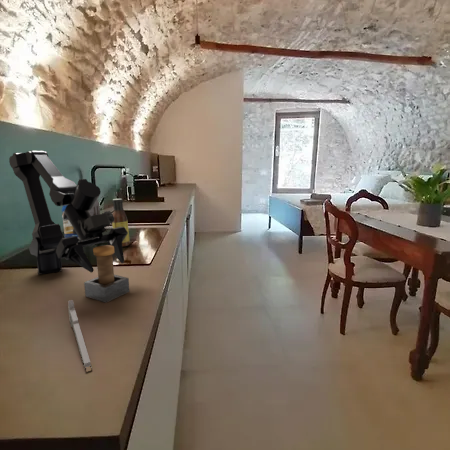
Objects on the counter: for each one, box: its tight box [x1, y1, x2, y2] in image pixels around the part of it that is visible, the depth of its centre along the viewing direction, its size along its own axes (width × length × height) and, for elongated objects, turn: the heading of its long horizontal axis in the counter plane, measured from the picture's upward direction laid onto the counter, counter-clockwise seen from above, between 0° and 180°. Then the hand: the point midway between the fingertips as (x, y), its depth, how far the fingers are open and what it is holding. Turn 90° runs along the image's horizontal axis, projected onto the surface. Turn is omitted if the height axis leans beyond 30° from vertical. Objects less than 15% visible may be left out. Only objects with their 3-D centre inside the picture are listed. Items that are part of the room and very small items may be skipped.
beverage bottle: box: [61, 205, 80, 240], centre depth 150 cm, size 8×8×20 cm
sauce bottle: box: [111, 198, 130, 248], centre depth 136 cm, size 6×6×20 cm
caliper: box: [67, 299, 92, 369], centre depth 64 cm, size 20×1×6 cm, turn 32°
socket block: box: [83, 274, 130, 303], centre depth 88 cm, size 8×8×4 cm
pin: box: [92, 244, 115, 285], centre depth 87 cm, size 5×5×13 cm
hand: (108, 266), depth 86 cm, fingers open, 9 cm apart
